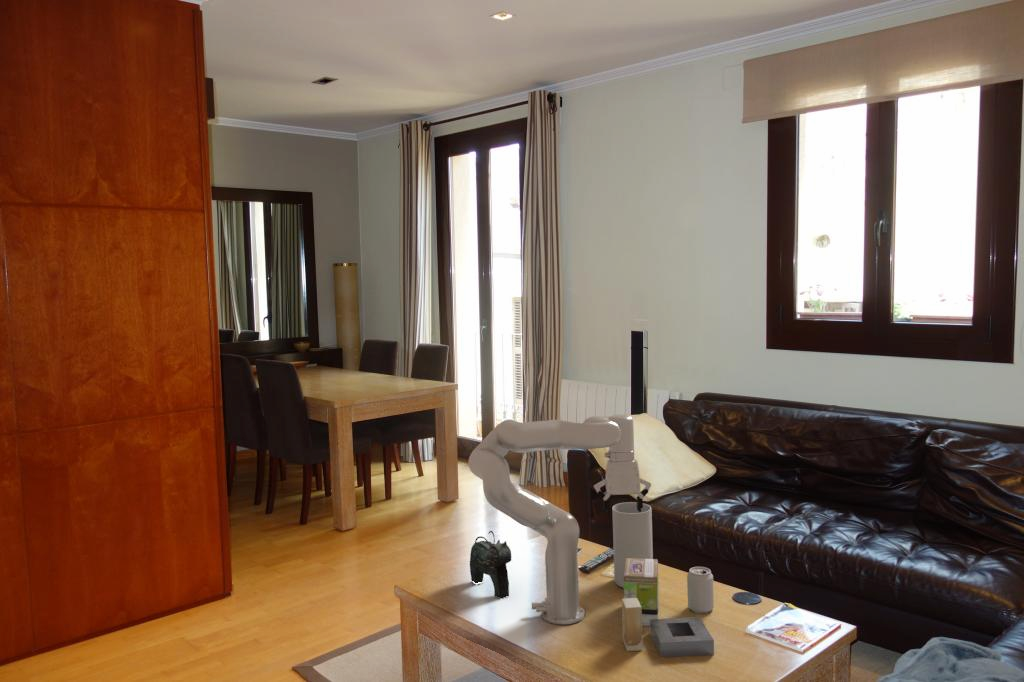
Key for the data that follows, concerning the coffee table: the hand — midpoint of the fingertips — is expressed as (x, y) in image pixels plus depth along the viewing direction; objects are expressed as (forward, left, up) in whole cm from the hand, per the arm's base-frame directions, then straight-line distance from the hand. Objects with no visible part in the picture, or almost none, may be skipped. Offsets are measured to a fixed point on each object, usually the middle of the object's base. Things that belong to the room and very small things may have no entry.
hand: (623, 511), depth 238 cm
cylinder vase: (+5, +14, -28) cm, 32 cm away
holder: (+10, -29, -28) cm, 42 cm away
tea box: (+3, -10, -29) cm, 30 cm away
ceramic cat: (-42, +14, -29) cm, 53 cm away
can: (+21, -8, -28) cm, 36 cm away
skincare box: (-3, -29, -28) cm, 41 cm away
